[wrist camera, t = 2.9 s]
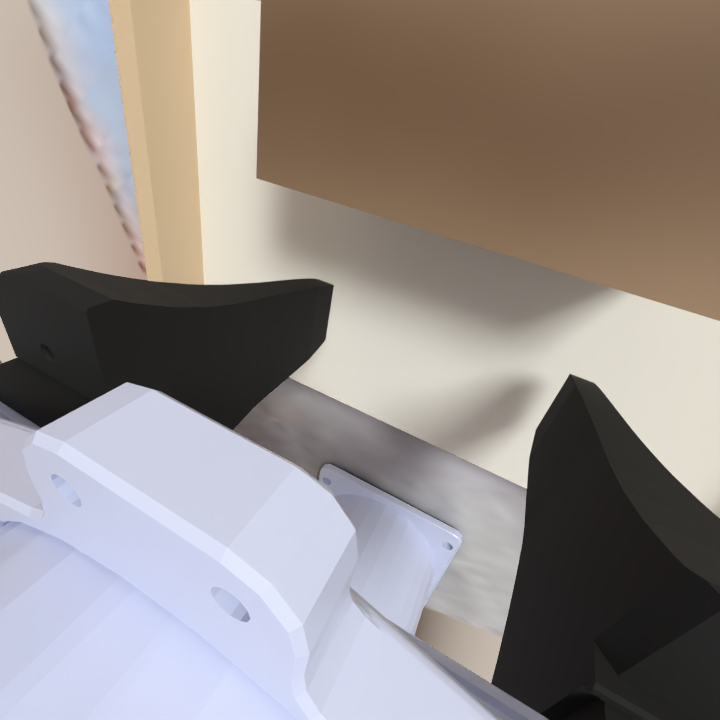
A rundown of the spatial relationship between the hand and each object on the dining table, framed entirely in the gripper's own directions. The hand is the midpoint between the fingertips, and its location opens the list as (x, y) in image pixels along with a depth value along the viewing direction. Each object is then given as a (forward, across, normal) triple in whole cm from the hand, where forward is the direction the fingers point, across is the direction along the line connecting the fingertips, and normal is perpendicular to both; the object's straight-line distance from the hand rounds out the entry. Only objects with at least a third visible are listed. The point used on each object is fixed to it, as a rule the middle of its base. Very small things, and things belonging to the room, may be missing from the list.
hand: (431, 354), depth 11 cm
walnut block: (+1, 0, -6) cm, 6 cm away
